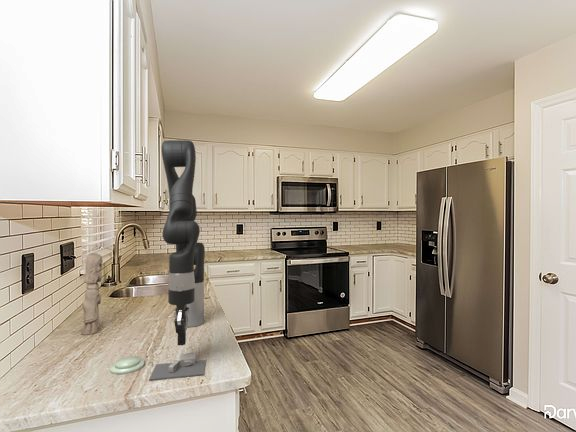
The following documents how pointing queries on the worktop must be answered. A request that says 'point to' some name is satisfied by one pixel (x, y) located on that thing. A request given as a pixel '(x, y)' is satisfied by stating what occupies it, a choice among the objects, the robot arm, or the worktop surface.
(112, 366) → the dish
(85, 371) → the worktop surface
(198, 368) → the mat
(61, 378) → the worktop surface
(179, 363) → the lighter
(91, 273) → the sculpture
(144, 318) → the worktop surface
